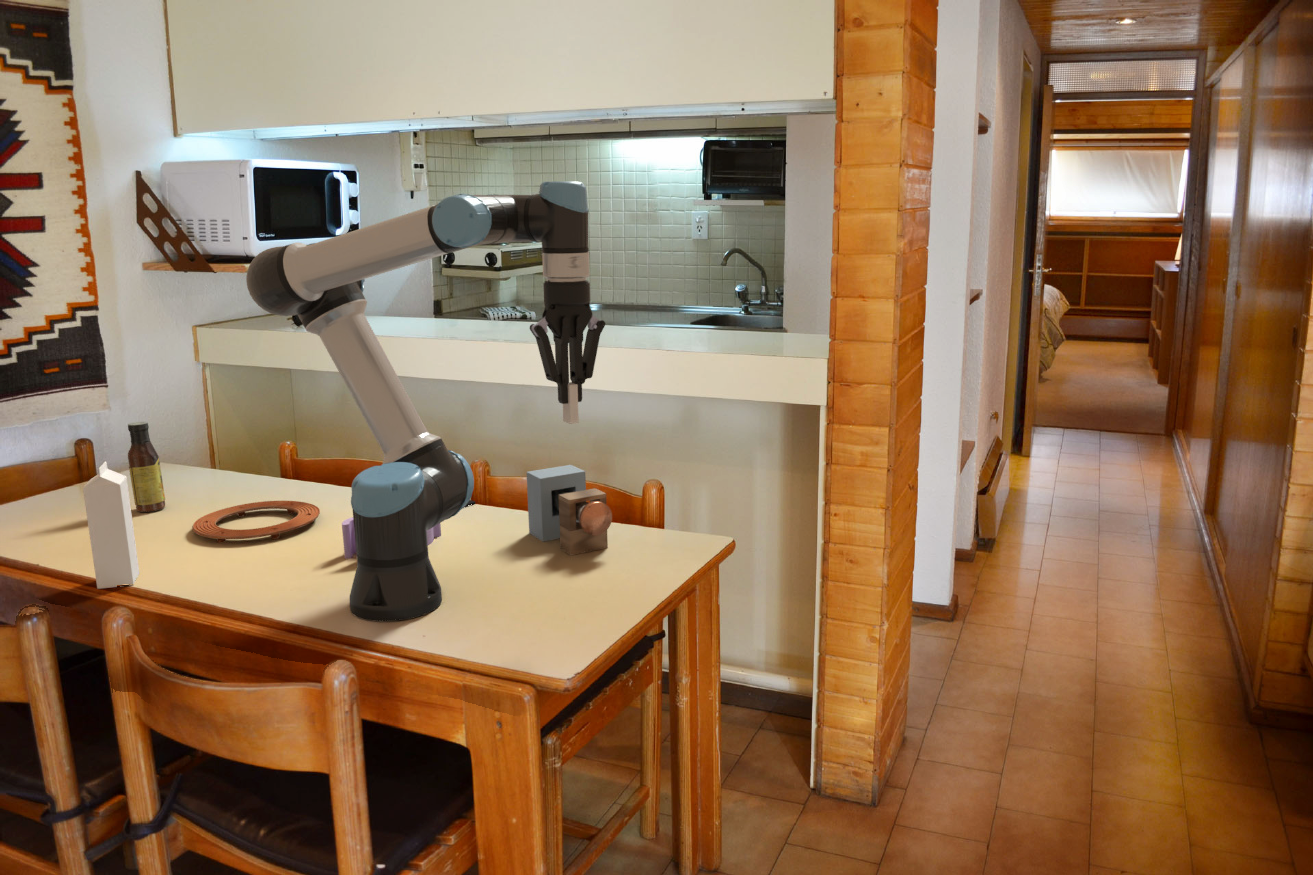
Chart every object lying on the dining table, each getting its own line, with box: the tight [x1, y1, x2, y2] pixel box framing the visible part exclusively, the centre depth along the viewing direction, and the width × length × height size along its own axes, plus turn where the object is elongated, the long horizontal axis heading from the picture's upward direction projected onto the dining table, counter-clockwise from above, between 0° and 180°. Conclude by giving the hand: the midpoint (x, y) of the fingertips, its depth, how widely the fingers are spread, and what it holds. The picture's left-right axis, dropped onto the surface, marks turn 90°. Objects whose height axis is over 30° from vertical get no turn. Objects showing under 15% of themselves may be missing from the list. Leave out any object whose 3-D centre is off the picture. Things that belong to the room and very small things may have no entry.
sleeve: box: [559, 488, 609, 556], centre depth 202 cm, size 8×4×11 cm, turn 121°
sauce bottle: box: [127, 421, 166, 513], centre depth 232 cm, size 7×6×20 cm
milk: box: [82, 460, 140, 590], centre depth 187 cm, size 6×6×22 cm
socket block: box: [526, 464, 587, 542], centre depth 211 cm, size 10×6×13 cm, turn 121°
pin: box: [551, 489, 613, 535], centre depth 204 cm, size 6×18×6 cm, turn 31°
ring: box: [191, 500, 321, 544], centre depth 220 cm, size 25×25×2 cm
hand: (570, 421), depth 173 cm, fingers closed
